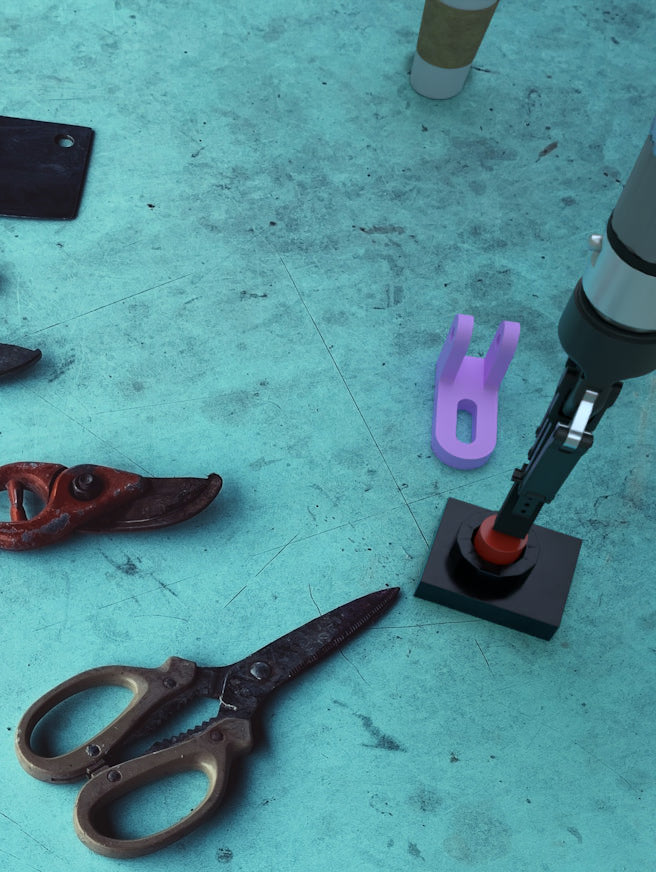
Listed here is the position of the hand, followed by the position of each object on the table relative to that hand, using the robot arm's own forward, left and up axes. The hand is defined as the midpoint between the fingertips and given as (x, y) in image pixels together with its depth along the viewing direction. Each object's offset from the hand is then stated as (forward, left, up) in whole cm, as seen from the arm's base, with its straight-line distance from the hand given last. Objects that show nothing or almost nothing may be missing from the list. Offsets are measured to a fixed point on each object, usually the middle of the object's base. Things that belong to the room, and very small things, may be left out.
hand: (510, 528), depth 100 cm
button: (0, 0, -2) cm, 2 cm away
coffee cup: (+21, -65, -6) cm, 69 cm away
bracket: (+6, -17, -6) cm, 19 cm away
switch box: (-1, 0, -6) cm, 6 cm away
